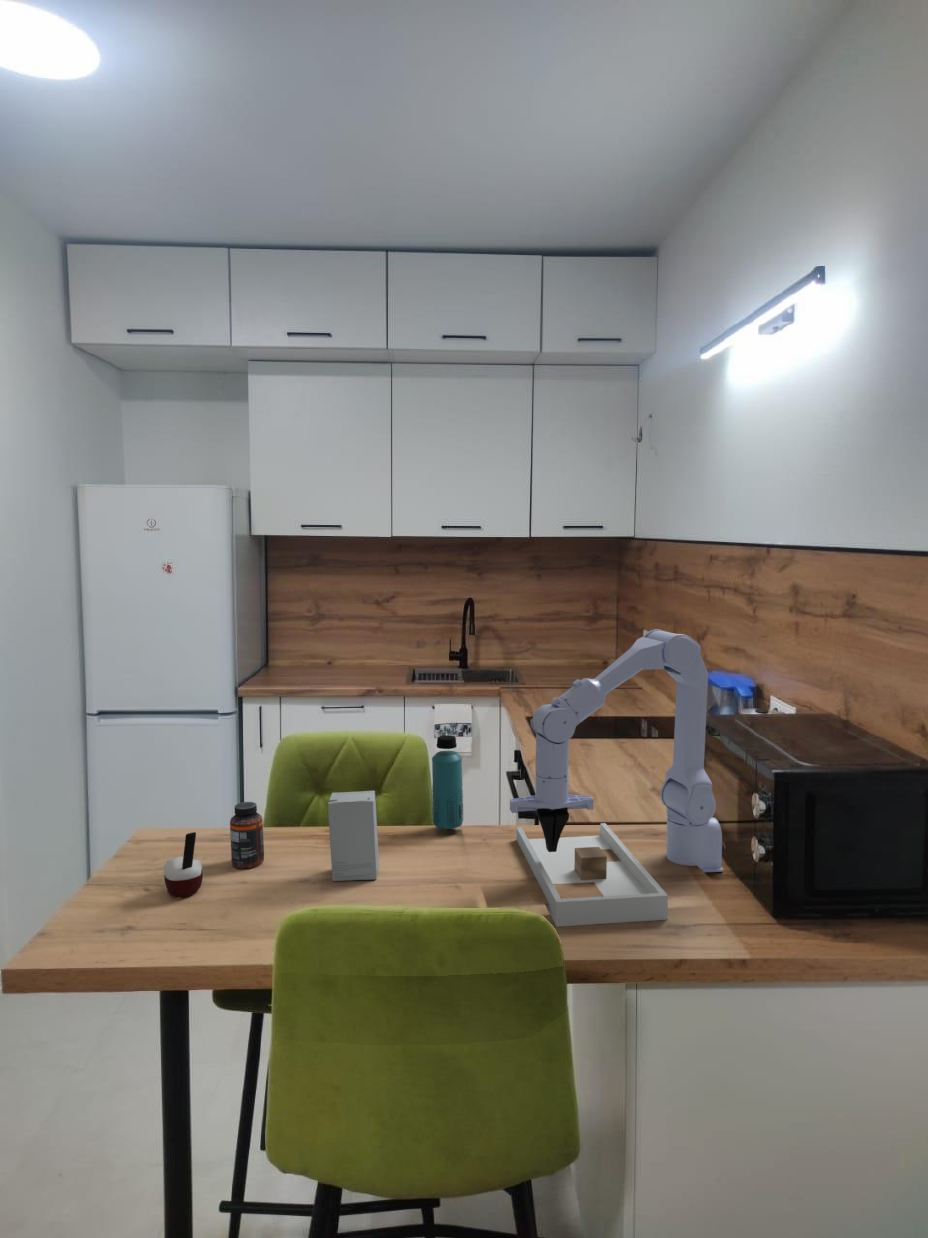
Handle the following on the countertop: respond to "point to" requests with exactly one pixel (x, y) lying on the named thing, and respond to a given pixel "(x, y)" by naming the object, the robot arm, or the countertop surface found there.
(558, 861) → the tray
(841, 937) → the countertop surface
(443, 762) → the beverage bottle
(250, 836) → the supplement bottle
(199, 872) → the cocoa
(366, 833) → the skincare box
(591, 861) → the walnut block
